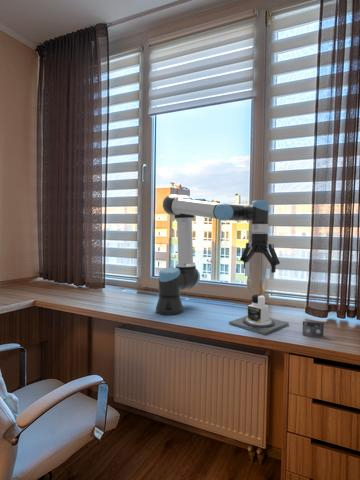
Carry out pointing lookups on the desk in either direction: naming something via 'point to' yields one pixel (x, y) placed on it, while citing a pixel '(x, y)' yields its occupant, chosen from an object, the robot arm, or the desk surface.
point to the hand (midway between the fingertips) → (258, 277)
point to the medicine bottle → (258, 309)
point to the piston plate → (259, 325)
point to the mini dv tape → (313, 328)
